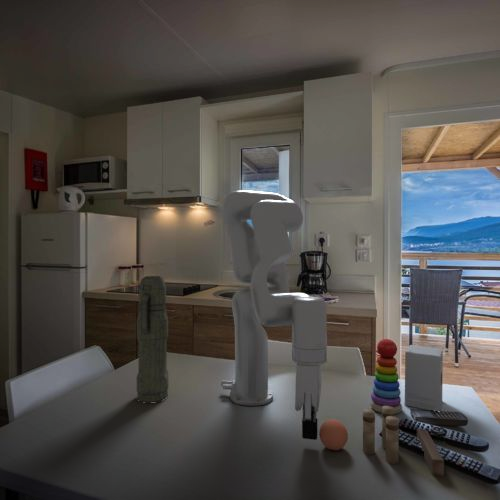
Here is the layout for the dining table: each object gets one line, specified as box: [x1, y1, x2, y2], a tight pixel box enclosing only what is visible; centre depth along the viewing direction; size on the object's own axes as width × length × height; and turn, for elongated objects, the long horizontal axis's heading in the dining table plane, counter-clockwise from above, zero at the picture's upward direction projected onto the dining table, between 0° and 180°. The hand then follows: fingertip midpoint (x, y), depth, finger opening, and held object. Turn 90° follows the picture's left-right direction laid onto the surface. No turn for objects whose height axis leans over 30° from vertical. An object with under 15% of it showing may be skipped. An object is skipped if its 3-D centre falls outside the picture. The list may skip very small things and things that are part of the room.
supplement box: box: [404, 344, 444, 412], centre depth 101 cm, size 9×9×15 cm
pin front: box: [362, 408, 376, 455], centre depth 77 cm, size 2×2×8 cm
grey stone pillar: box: [136, 275, 169, 403], centre depth 105 cm, size 9×12×35 cm
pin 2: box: [385, 416, 400, 465], centre depth 74 cm, size 2×2×8 cm
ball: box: [318, 418, 349, 451], centre depth 78 cm, size 6×6×6 cm
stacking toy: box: [369, 338, 403, 415], centre depth 97 cm, size 8×8×19 cm
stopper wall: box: [416, 428, 445, 477], centre depth 75 cm, size 2×12×3 cm, turn 168°
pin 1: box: [381, 406, 395, 450], centre depth 79 cm, size 2×2×8 cm
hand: (309, 437), depth 79 cm, fingers closed
